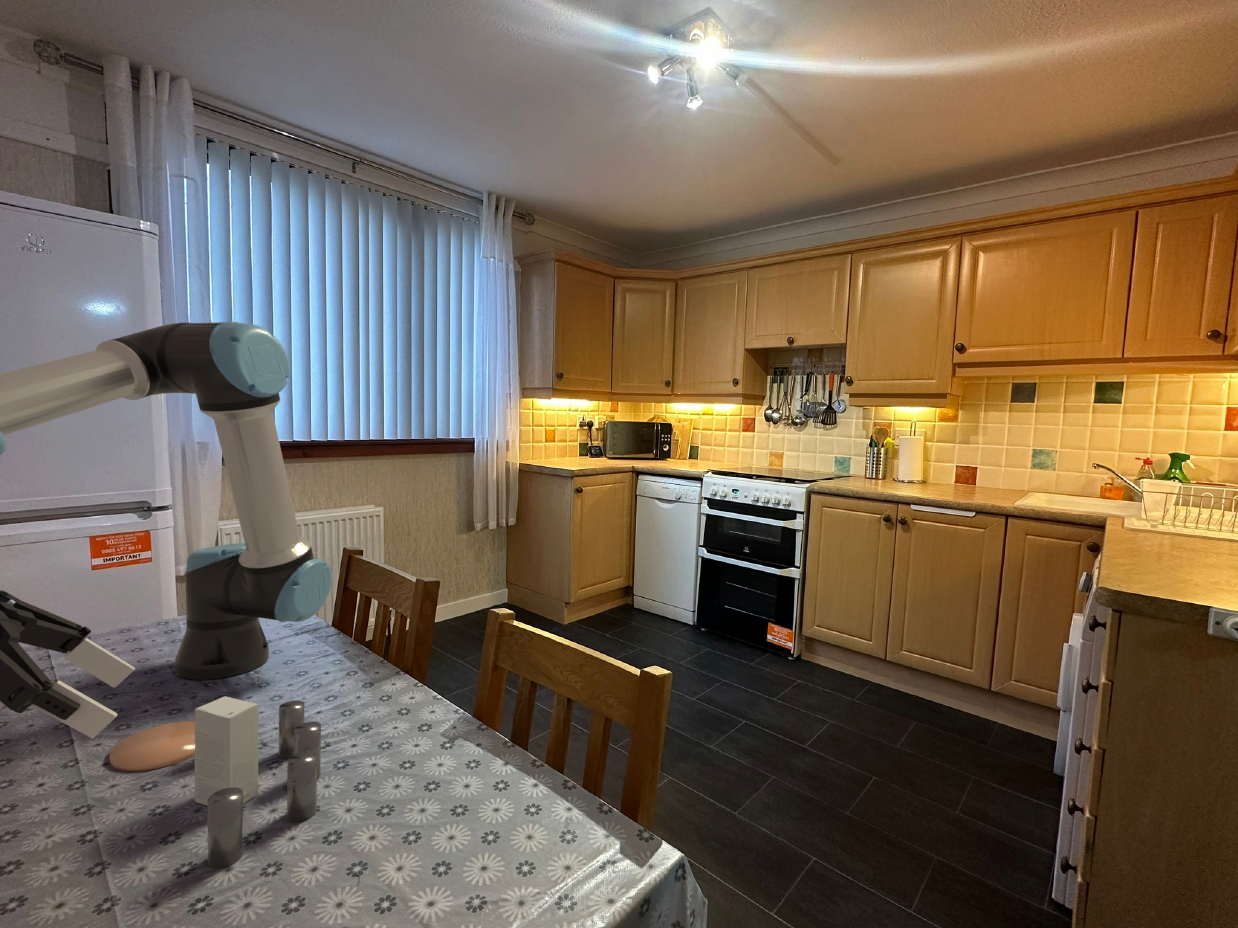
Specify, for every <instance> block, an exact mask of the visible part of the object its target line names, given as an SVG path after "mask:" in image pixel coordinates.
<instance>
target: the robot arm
mask: <svg viewBox="0 0 1238 928" xmlns="http://www.w3.org/2000/svg"><path fill="white" fill-rule="evenodd" d="M290 370H291V368H290V361H289V357H288V354H287V352H286V349H285V347H284V346H283V344H282V343H281V341H280V340H279V339H278V338H277V337H276V336H275V335H274V334H272V333H271V332H270V331H269V330H268V329H266V328H264V327H262V326H259V325H258V324H257V325H256V324H252V323H243V322H237V321H232V322H231V321H225V322H224V321H223V322H222V321H221V322H176V323H175V322H174V323H170V324H164V325H160V326H156V327H153V328H152V327H151V328H149V329H145V330H141V331H137V332H134V333H131V334H127V335H123V336H120V337H117V338H111V339H108V340H105V341H101V342H100V343H99V344H98V345H97V346H96V349H95V350H92V351H88V352H84V353H81V354H76V355H72V356H68V357H64V358H60V359H56V360H52V361H48V362H43V363H39V364H35V365H31V366H28V367H27V366H26V367H23V368H19V369H14V370H11V371H7V372H2V373H0V456H1V455H2V454H4V452H6V449H7V440H6V438H5V436H7V435H10V434H13V433H17V432H19V431H23V430H26V429H28V428H33V427H36V426H38V425H41V424H43V423H46V422H50V421H53V420H57V419H60V418H62V417H66V416H68V415H71V414H74V413H75V414H76V413H78V412H81V411H85V410H88V409H90V408H93V407H97V406H100V405H103V404H106V403H109V402H113V401H116V400H119V399H121V398H124V399H126V400H131V401H136V400H141V399H144V398H146V397H151V396H155V395H156V396H157V395H163V394H192V395H193V394H194V395H196V396H195V397H196V399H197V400H196V401H197V404H198V408H199V411H200V412H201V413H203V414H204V415H206V416H208V417H209V418H212V420H213V423H214V427H215V429H216V435H217V438H218V441H219V446H220V450H221V453H222V457H223V462H224V465H225V469H226V473H227V477H228V481H229V486H230V489H231V490H230V491H231V493H232V497H233V503H234V506H235V510H236V513H237V518H238V521H239V527H240V530H241V533H242V538H243V541H244V542H238V543H237V542H236V543H228V544H222V545H216V546H215V545H214V546H210V547H205V548H200V549H197V550H194V551H192V552H191V553H190V554H189V555H188V556H187V559H186V570H185V571H184V575H185V604H186V605H185V606H186V607H185V608H186V611H185V612H186V615H185V617H186V619H185V620H186V622H185V623H186V628H185V632H184V636H183V637H182V640H181V643H180V646H179V649H178V651H177V655H176V656H175V658H174V660H175V661H174V673H175V675H176V676H178V677H180V678H182V679H187V680H201V681H202V680H213V679H215V680H217V679H221V678H223V679H224V678H229V677H232V676H237V675H241V674H244V673H248V672H250V671H253V670H255V669H258V668H259V667H261V666H263V665H264V664H265V663H266V662H268V660H269V659H270V658H269V657H270V647H269V646H270V645H269V643H268V641H267V638H266V635H265V633H264V630H263V627H262V626H261V623H260V619H265V620H266V619H267V620H274V621H278V622H280V623H286V622H290V623H291V622H293V623H300V622H301V623H302V622H304V621H307V620H308V619H310V618H312V617H313V616H315V615H316V614H317V613H318V612H319V611H320V610H321V609H322V607H323V606H324V604H325V603H326V601H327V598H328V597H329V594H330V592H331V589H332V584H333V583H332V582H333V574H332V570H331V567H330V565H329V564H328V563H327V562H325V561H324V560H323V559H321V558H315V557H314V556H315V555H314V553H313V548H312V544H311V541H309V539H307V538H305V537H303V536H301V535H300V532H299V527H298V522H297V517H296V514H295V509H294V504H293V500H292V495H291V490H290V486H289V485H290V484H289V480H288V478H287V472H286V467H285V461H284V458H283V453H282V448H281V444H280V443H281V442H280V439H279V435H278V430H277V426H276V421H275V415H274V410H275V409H276V408H277V406H278V405H279V404H280V403H281V396H280V393H281V392H282V391H283V390H284V389H285V387H286V386H287V384H288V380H287V379H289V377H290V374H291V373H290V372H291V371H290ZM91 633H92V631H91V629H90V628H89V627H87V626H85V625H84V626H82V625H81V624H78V623H76V622H74V621H71V620H68V619H66V618H64V617H62V616H59V615H57V614H56V613H55V614H54V613H52V612H50V611H48V610H46V609H45V610H44V609H42V608H40V607H38V606H37V605H36V606H35V605H33V604H30V603H28V602H26V601H23V600H22V599H19V598H18V597H16V596H14V595H12V594H10V593H9V592H8V591H5V590H0V702H1V703H2V704H3V705H4V706H5V707H7V708H8V709H9V710H10V711H12V712H15V713H17V714H23V713H24V712H25V711H27V710H28V709H29V708H30V707H34V708H35V709H36V710H39V711H41V712H43V713H44V714H46V715H48V716H50V717H52V718H54V719H55V720H57V721H59V722H61V723H63V724H64V725H67V726H69V727H70V728H72V729H74V730H76V731H78V732H79V733H82V734H83V735H85V736H87V737H89V738H91V739H94V738H95V737H96V736H97V735H99V733H101V732H102V731H103V730H104V729H105V728H106V727H107V726H109V724H110V723H112V722H113V720H115V718H117V717H118V713H117V712H115V711H114V710H112V709H111V708H109V707H107V706H105V705H103V704H102V703H100V702H98V701H96V700H94V699H92V698H90V697H89V696H88V695H85V694H84V693H82V692H80V691H78V690H77V689H75V688H73V687H72V686H70V685H68V684H66V683H65V682H63V681H61V680H57V681H56V682H55V683H53V682H52V680H51V679H50V678H49V677H48V676H47V675H46V673H45V672H44V671H43V670H42V669H41V668H40V666H39V665H38V664H37V663H36V662H35V661H34V660H33V658H32V657H31V656H30V655H29V654H28V653H27V651H26V650H25V649H24V648H23V647H22V646H21V644H23V645H24V644H26V645H29V646H34V647H38V648H42V649H45V650H49V651H52V652H53V651H54V652H58V653H61V654H65V656H64V657H63V659H65V660H66V661H68V662H70V663H71V664H73V665H74V666H76V667H78V668H80V669H82V670H83V671H85V672H87V673H88V674H90V675H92V676H93V677H95V678H97V679H98V680H100V681H102V682H104V683H106V684H107V685H108V686H110V687H112V688H114V689H116V687H118V686H119V685H120V684H121V683H122V682H123V681H125V680H126V678H127V677H128V676H130V675H131V674H132V673H133V672H134V671H135V670H136V667H134V666H133V665H132V664H129V663H128V662H126V661H125V660H123V659H122V658H120V657H119V656H117V655H116V654H113V653H112V652H110V651H109V650H107V649H105V648H103V646H100V645H99V644H97V643H95V641H92V640H91V639H90V638H87V636H89V635H90V634H91ZM20 643H21V644H20Z"/></svg>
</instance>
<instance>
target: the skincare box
mask: <svg viewBox="0 0 1238 928" xmlns="http://www.w3.org/2000/svg"><path fill="white" fill-rule="evenodd" d="M194 721H195V756H194V802H195V803H197V804H200V805H204V806H206V807H208V798H209V797H210V796H211V795H212V794H214V793H215V792H217V791H219V790H222V789H225V788H231V787H237V788H240V789H242V790H243V804H245V803H247V802H249V801H250V800H251V799H253V798H255V797H257V796H258V794H259V704H258V703H257V702H256V703H254V702H251V701H246V700H242V699H238V698H233V697H230V696H226V695H225V696H222V697H220V698H217V699H214V700H213V701H211V702H208V703H206V704H203V705H201V706H198V707H196V708H195V709H194Z"/></svg>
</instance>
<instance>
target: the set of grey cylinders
mask: <svg viewBox="0 0 1238 928" xmlns="http://www.w3.org/2000/svg"><path fill="white" fill-rule="evenodd" d="M321 741H322V724H321V723H320V722H318V721H314V720H313V721H306V722H305V702H304V701H303V700H290V701H286V702H283V703H282V704H280V705H279V706H278V757H279V758H280V759H283V760H284V759H285V760H287V763H286V764H287V769H286V770H287V772H286V773H287V774H286V775H287V776H286V777H287V779H286V780H287V781H286V819H287V820H288V821H289V822H293V823H301V822H304V821H306V820H309V819H311V818H312V817H313V816H315V814H316V813H317V805H318V804H317V800H318V799H317V798H318V797H317V796H318V795H317V794H318V791H317V790H318V780H319V779H320V778H321V766H322V765H321V764H322V763H321V760H322V759H321V758H322V756H321V754H322V753H321V751H322V750H321V749H322V742H321ZM243 820H244V803H243V790H242V789H240V788H237V787H231V788H225V789H222V790H219V791H217V792H215V793H214V794H212V795H211V796H210V797H209V798H208V806H207V866H208V867H209V868H210V869H214V870H215V869H216V870H217V869H223V868H226V867H230V866H231V865H234V864H236V863H237V862H238V861H239V860H240V859H241V858H242V856H243V851H244V850H243V848H244V847H243V845H244V843H243V842H244V840H243V839H244V838H243V836H244V835H243V834H244V821H243Z"/></svg>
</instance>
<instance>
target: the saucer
mask: <svg viewBox="0 0 1238 928" xmlns="http://www.w3.org/2000/svg"><path fill="white" fill-rule="evenodd" d="M193 757H195V720H194V721H193V720H192V721H191V720H188V721H187V720H186V721H175V722H174V721H173V722H169V723H165V724H159V725H156V726H152V727H149V728H146V729H143V730H140V731H138V732H136V733H133V734H131V735H129V736H127V737H126V738H124V739H122V740H121V741H119V742H118V743H116V744H115V746H113V747H112V748H111V750H110V753H109V764H110V765H111V767H113V768H114V769H117V770H120V771H124V772H129V771H130V772H140V771H141V772H142V771H151V770H157V769H161V768H166V767H169V766H172V765H176V764H179V763H182V762H184V761H187V760H188V759H191V758H193Z"/></svg>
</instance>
